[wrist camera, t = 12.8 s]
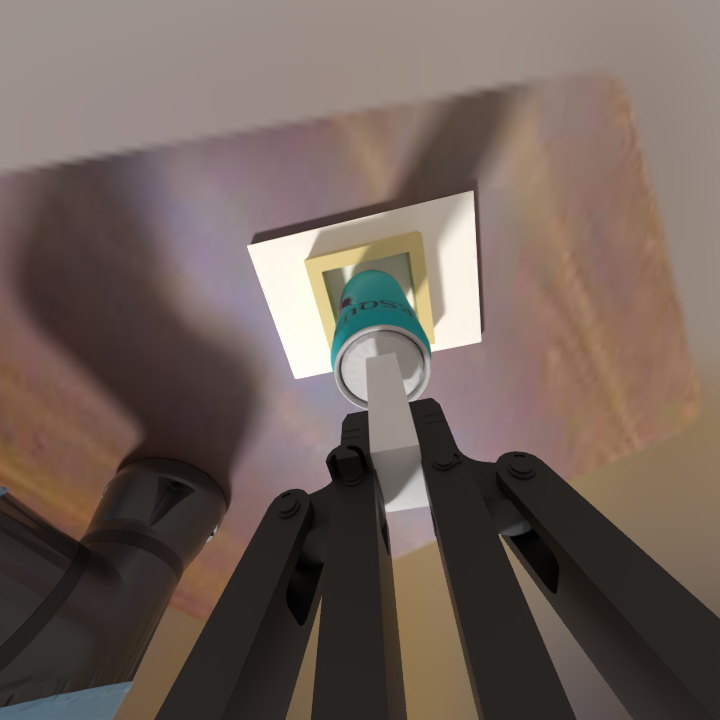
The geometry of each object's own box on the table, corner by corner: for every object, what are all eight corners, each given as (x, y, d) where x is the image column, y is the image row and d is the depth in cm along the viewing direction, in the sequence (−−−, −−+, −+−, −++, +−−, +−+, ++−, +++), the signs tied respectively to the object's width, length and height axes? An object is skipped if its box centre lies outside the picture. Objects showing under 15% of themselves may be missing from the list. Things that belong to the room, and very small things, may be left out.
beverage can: (343, 263, 28) (330, 316, 15) (405, 269, 29) (447, 325, 15) (339, 323, 31) (326, 413, 17) (397, 327, 31) (427, 419, 18)
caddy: (296, 374, 35) (290, 391, 31) (250, 244, 29) (237, 249, 25) (477, 338, 33) (490, 352, 30) (469, 191, 27) (484, 189, 24)
